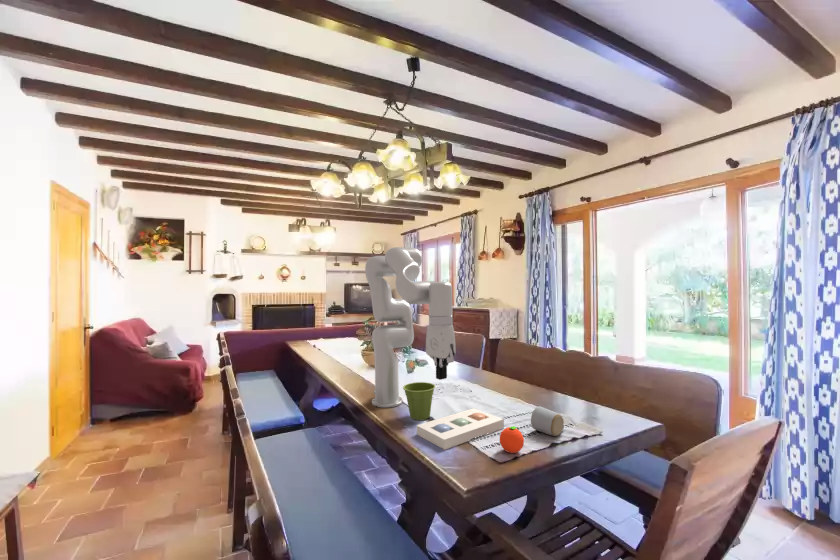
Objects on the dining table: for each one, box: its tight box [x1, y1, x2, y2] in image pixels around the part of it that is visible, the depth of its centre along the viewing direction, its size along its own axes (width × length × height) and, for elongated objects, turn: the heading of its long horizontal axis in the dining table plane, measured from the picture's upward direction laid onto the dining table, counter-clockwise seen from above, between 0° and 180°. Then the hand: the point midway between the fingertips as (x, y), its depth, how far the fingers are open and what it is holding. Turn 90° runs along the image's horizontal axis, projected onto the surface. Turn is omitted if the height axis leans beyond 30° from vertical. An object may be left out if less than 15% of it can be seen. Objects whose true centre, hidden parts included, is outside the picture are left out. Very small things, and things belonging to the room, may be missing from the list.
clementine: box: [499, 425, 525, 454], centre depth 112 cm, size 8×7×7 cm
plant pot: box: [402, 381, 436, 421], centre depth 140 cm, size 12×12×11 cm
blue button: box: [435, 424, 450, 433], centre depth 122 cm, size 5×5×3 cm
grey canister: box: [530, 406, 565, 437], centre depth 126 cm, size 11×8×8 cm
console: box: [416, 407, 505, 450], centre depth 127 cm, size 14×26×3 cm, turn 126°
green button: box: [454, 418, 468, 427], centre depth 127 cm, size 5×5×3 cm
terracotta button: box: [471, 413, 485, 421], centre depth 132 cm, size 5×5×3 cm
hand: (441, 378), depth 122 cm, fingers closed
